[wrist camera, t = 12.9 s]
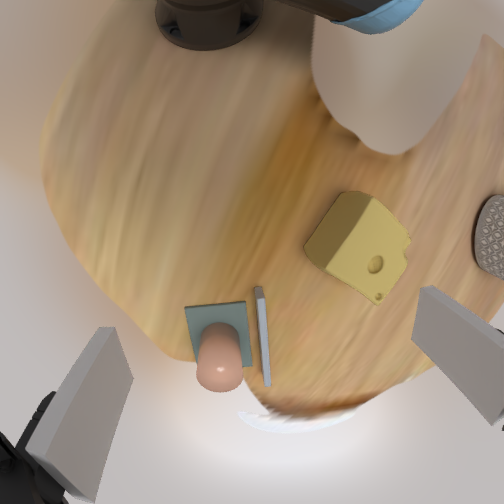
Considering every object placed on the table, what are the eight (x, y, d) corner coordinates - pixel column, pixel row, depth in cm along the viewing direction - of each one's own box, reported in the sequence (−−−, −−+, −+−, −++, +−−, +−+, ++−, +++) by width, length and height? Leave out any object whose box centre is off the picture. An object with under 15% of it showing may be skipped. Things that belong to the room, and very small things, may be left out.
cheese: (387, 227, 41) (425, 243, 31) (348, 283, 43) (377, 312, 33) (340, 186, 38) (374, 192, 29) (297, 248, 40) (318, 272, 31)
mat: (185, 306, 41) (184, 308, 41) (245, 300, 42) (245, 302, 41) (198, 368, 44) (198, 371, 44) (252, 364, 45) (252, 366, 44)
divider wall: (254, 287, 41) (257, 299, 37) (261, 286, 41) (264, 298, 37) (261, 371, 46) (264, 386, 42) (267, 370, 46) (271, 386, 42)
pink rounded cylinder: (197, 324, 41) (192, 360, 33) (237, 320, 42) (240, 356, 33) (204, 355, 43) (201, 393, 34) (241, 352, 43) (245, 390, 35)
